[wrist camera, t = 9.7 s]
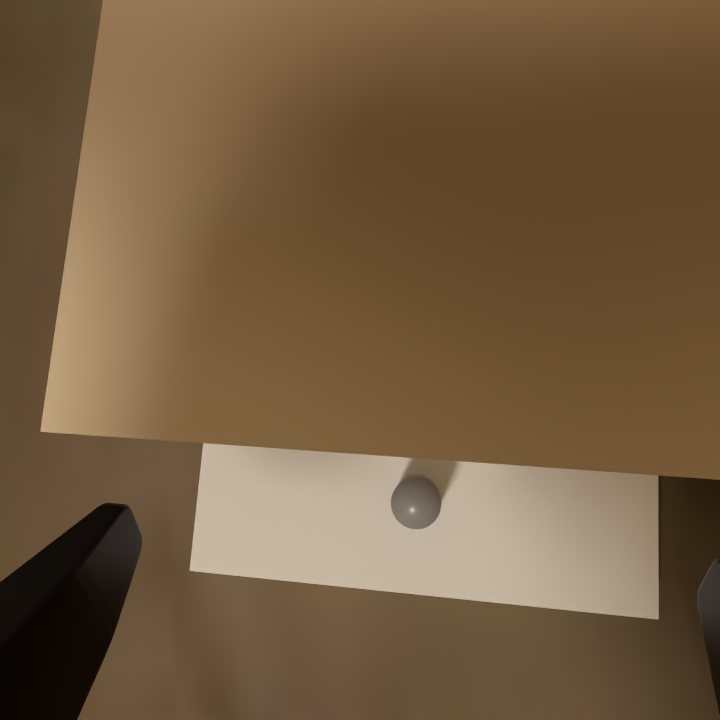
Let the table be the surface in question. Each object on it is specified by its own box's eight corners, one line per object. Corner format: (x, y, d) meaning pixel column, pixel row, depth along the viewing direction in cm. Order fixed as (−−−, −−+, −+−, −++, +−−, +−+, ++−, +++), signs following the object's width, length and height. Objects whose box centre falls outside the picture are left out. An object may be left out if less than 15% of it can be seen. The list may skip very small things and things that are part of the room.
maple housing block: (502, 455, 18) (765, 482, 4) (334, 443, 18) (39, 432, 4) (507, 289, 18) (743, -190, 5) (346, 284, 19) (124, -148, 5)
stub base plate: (643, 607, 18) (682, 637, 15) (204, 563, 19) (166, 582, 17) (643, 175, 20) (678, 130, 17) (245, 171, 21) (217, 130, 19)
